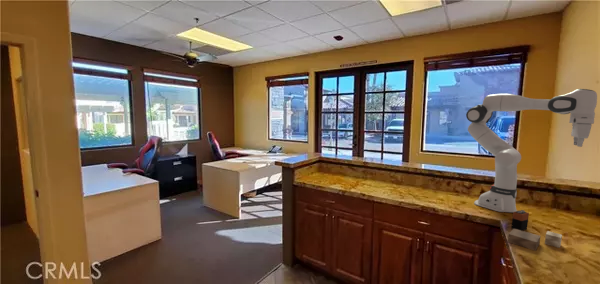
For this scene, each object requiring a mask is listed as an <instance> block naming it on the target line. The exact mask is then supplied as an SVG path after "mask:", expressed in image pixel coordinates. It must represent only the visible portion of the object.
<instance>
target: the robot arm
mask: <svg viewBox="0 0 600 284" xmlns="http://www.w3.org/2000/svg"><path fill="white" fill-rule="evenodd" d="M597 104H598V94H597V92H596V91H595V90H592V89H587V88H578V89H577V88H576V89H575V90H573V91H571V92H568V93H566V94H561V95H558V96H557V95H556V96H554V97H552V98H551V99H546V98H545V99H544V98H529V97H527V96H526V97H525V96H523V95H519V94H513V93H495V94H488V95H486V96H485V97H484V99H483V100H482V104H477V105H475V106H472V107H470V109H468V110H467V111H466V113H465V115H466V116H465V117H466V119H467V120H468V121H469V122H471V123H470V124H469V125H468V126H467V131H468V133H469V134H470V136H471V137H472V138H473V139H474V140H475V141H476V142H477V143H478V144H479V145H480V146H481V147H482V148H483V149H484V150H486V151H487V152H488V153H490V154H492V155H493V157H494V171H495V176H494V177H495V178H494V183H493V184H491V185H490V186H489V189H490V190H488V191H486V192H484V193H481V194H480V195H479V197H478V199H476V200H475V201H474V202H473V205H475V206H478V207H483V208H484V209H489V210H492V211H495V212H499V213H504V212H505V213H513V212H516V211H518V210H517V207H516V206H517V205H516V198H517V193H518V192H517V191H518V190H517V183H518V170H517V169H518V168H517V167H518V164H519V163H520V162H521V160H522V155H521V153H520V151H518V150H517V149H516V148H514V147H513V146H512V145H511V144H510V143H507V141H505V140H503V138H501V137H500V136H499V135H498V134H497V133H495V132H494V131H493V130H492V129H491V128H490V127H488V125H487V124H489V121H490V119H491V118H492V117H493V115H494V112H509V113H510V112H519V111H526V110H541V111H550V112H552V113H555V114H560V115H569V114H570V115H569V122H568V123H569V124H571V125H572V127H571V128H572V129H571V137H573V146H576V147H579V148H581V147H583V144H584V141H585V139H588V138H589V136H590V133H591V129H592V125H593V124H594V123H595V118H596V117H595V116H596V113H595V110H596V108H597Z"/></svg>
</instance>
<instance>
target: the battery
mask: <svg viewBox="0 0 600 284" xmlns="http://www.w3.org/2000/svg"><path fill="white" fill-rule="evenodd" d="M529 216H530V213H529V212H527V211H526V210H524V209H521V210H517V211H516V212H512V219H511V220H512V221H511V229H512V230H513V229H518V230H521V231H525V230H527V229H528V225H529V224H528V222H529Z"/></svg>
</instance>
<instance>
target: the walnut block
mask: <svg viewBox="0 0 600 284" xmlns="http://www.w3.org/2000/svg"><path fill="white" fill-rule="evenodd" d="M540 242H541V235H540V234H539V235H538V234H535V233H532V232H528V231H525V230H522V231H521V230H518V229H513V228H512V230H510V232H509V233H508V236H507V243H510V244H513V245H516V246H519V247H523V248H526V249H529V250H532V251H535V252H536V251H537V249H538V248H539V246H540V244H541V243H540Z"/></svg>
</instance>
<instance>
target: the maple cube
mask: <svg viewBox="0 0 600 284" xmlns="http://www.w3.org/2000/svg"><path fill="white" fill-rule="evenodd" d="M562 237H563V234H560V233H556V232H553V231H549V230H547V231H546V233H545V239H544V244H545V245H548V246H551V247H555V248H559V249H560V248H561V245H562V240H563V239H562Z"/></svg>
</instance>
